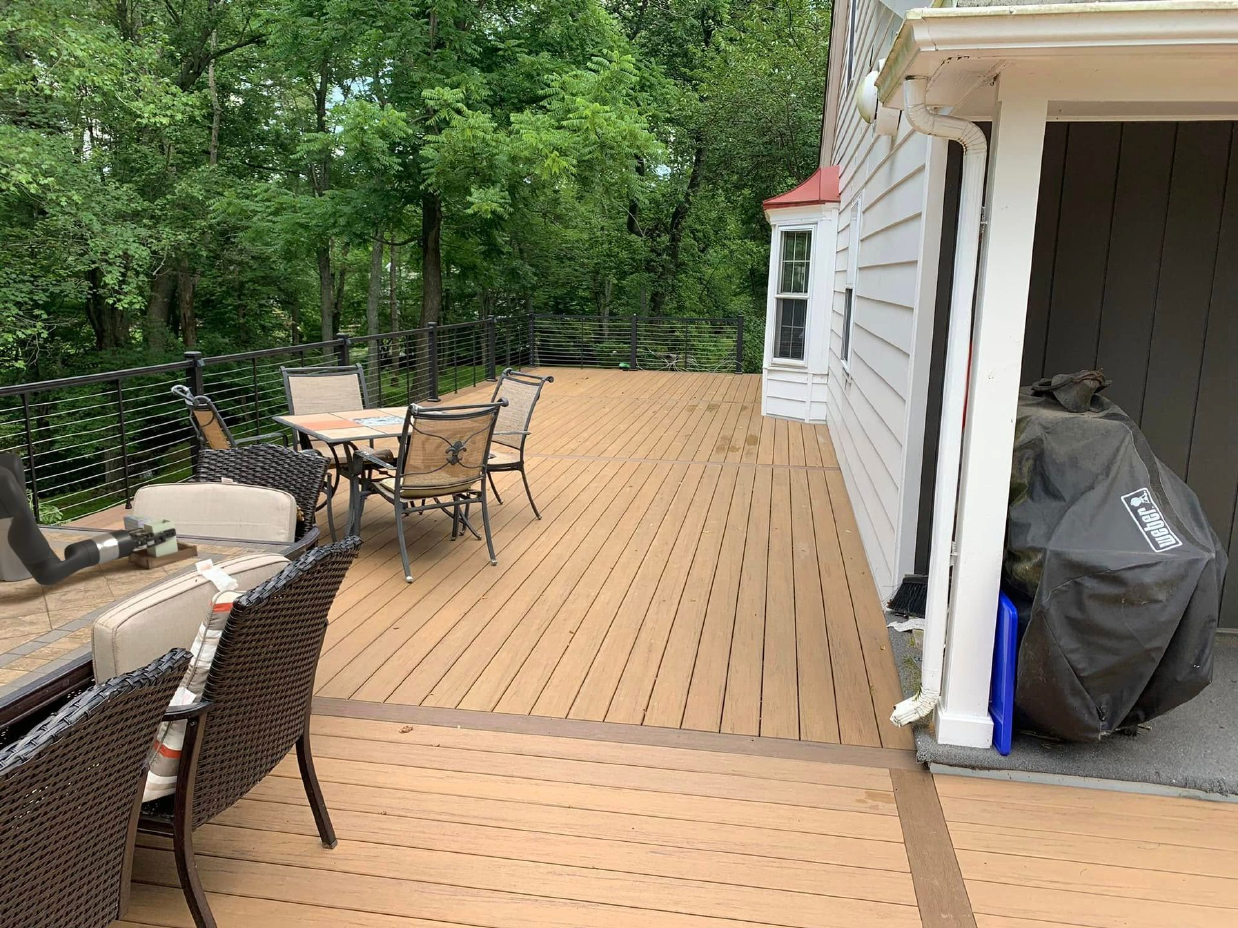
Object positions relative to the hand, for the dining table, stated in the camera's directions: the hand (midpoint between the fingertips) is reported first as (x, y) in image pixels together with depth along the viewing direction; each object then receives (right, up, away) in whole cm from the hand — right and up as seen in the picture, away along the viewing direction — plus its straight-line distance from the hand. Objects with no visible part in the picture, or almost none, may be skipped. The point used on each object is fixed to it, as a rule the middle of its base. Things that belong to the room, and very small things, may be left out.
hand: (168, 530), depth 252 cm
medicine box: (-15, -5, +13) cm, 20 cm away
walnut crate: (-1, -8, 0) cm, 8 cm away
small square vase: (-1, -6, -1) cm, 6 cm away
